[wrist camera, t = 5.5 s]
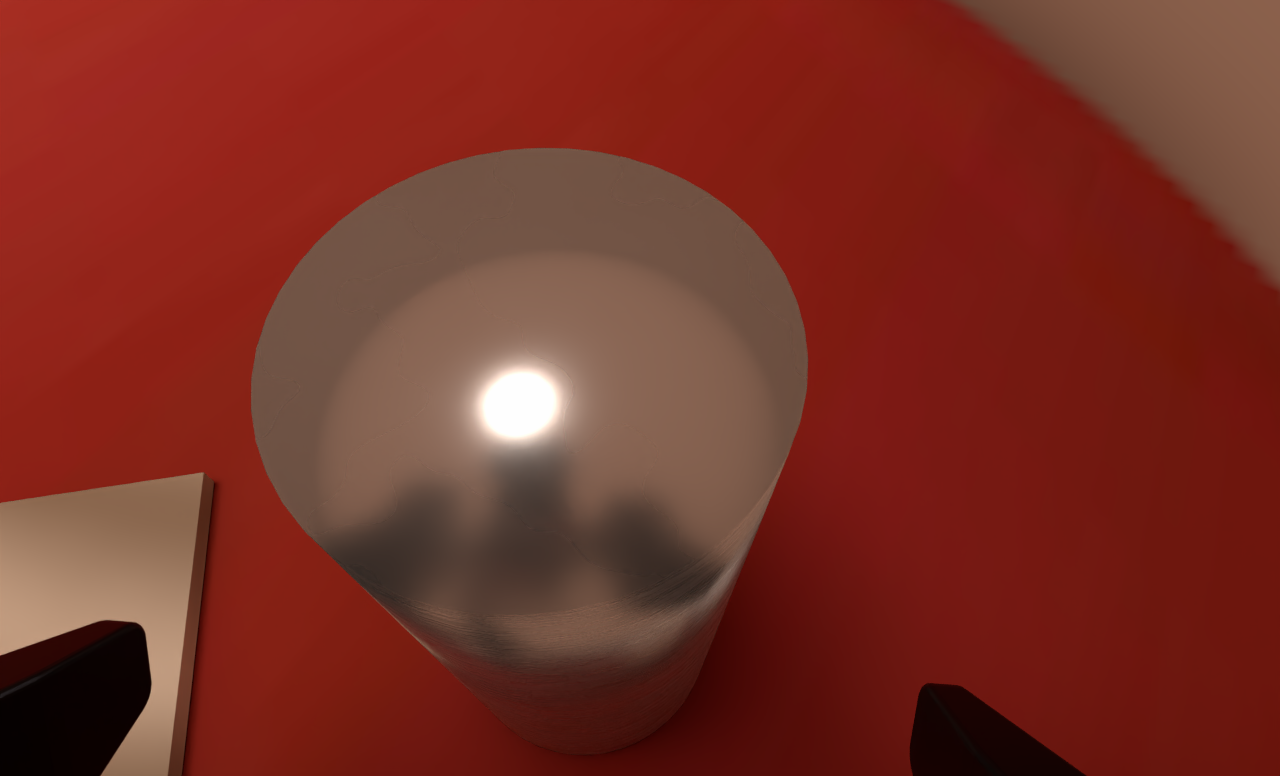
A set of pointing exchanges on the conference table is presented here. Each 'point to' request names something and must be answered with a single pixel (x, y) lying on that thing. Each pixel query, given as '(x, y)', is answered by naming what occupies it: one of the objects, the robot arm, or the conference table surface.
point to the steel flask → (538, 425)
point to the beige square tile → (115, 590)
